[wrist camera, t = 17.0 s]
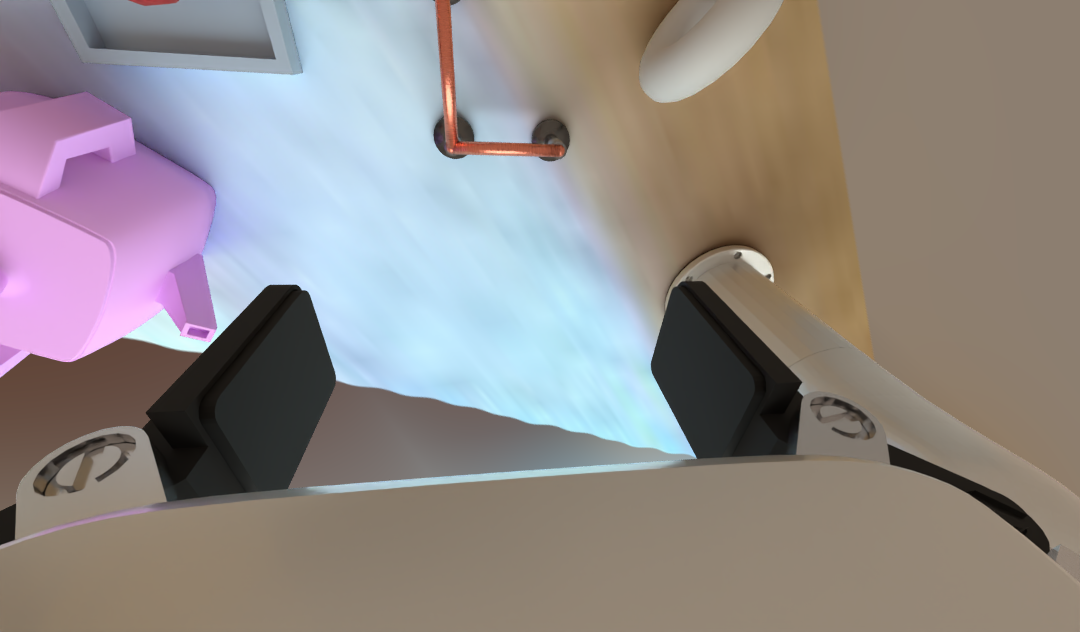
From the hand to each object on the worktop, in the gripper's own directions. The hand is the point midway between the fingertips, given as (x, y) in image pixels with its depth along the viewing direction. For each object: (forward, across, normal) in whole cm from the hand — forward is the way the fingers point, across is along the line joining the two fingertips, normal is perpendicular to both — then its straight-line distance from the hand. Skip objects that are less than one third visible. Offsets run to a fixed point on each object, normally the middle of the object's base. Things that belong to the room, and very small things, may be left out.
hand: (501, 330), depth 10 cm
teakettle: (+26, +30, +6) cm, 40 cm away
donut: (+27, -14, -8) cm, 32 cm away
